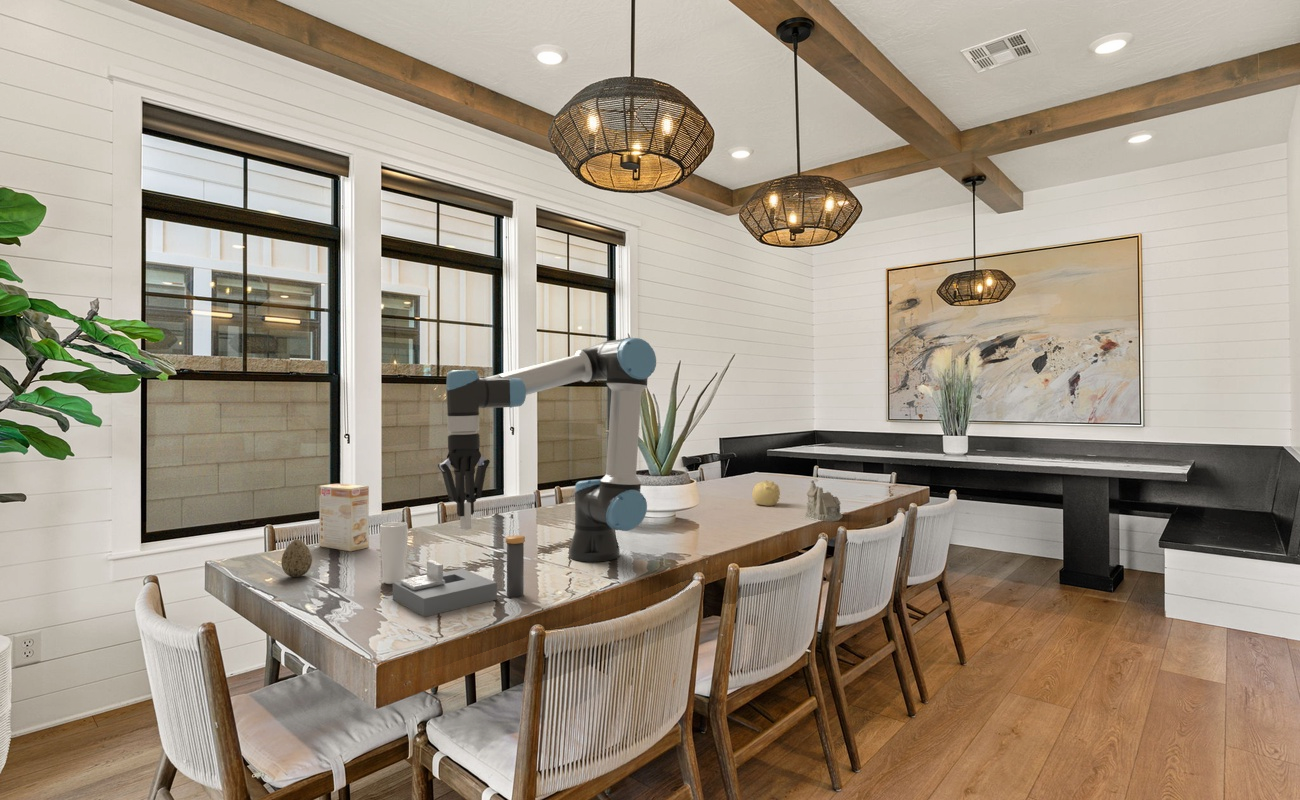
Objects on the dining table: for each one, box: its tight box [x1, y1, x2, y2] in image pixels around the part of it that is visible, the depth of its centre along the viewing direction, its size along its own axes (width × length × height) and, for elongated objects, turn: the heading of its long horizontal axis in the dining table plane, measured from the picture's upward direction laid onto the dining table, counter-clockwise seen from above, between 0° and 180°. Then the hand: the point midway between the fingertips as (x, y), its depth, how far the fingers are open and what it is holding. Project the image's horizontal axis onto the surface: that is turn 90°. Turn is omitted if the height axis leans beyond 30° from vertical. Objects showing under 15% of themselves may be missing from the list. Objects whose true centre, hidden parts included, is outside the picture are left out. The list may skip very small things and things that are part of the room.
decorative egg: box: [281, 538, 313, 578], centre depth 175 cm, size 7×7×10 cm
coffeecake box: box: [318, 483, 370, 552], centre depth 209 cm, size 15×7×20 cm, turn 63°
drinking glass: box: [379, 521, 409, 585], centre depth 171 cm, size 7×7×15 cm
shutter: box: [400, 559, 445, 590], centre depth 155 cm, size 8×8×4 cm
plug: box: [505, 534, 526, 599], centre depth 160 cm, size 5×5×14 cm
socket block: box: [392, 568, 498, 618], centre depth 157 cm, size 18×17×4 cm
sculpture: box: [751, 480, 781, 507], centre depth 290 cm, size 12×12×11 cm
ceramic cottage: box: [805, 479, 844, 523], centre depth 262 cm, size 16×16×15 cm
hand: (465, 528), depth 162 cm, fingers closed
